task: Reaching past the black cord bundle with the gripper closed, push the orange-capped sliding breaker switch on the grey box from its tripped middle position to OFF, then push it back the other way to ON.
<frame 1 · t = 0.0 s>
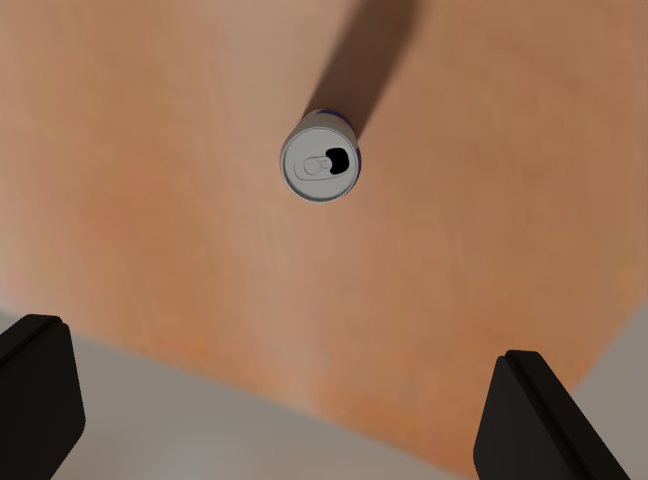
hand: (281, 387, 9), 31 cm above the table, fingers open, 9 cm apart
energy drink: (325, 138, 38), on the table
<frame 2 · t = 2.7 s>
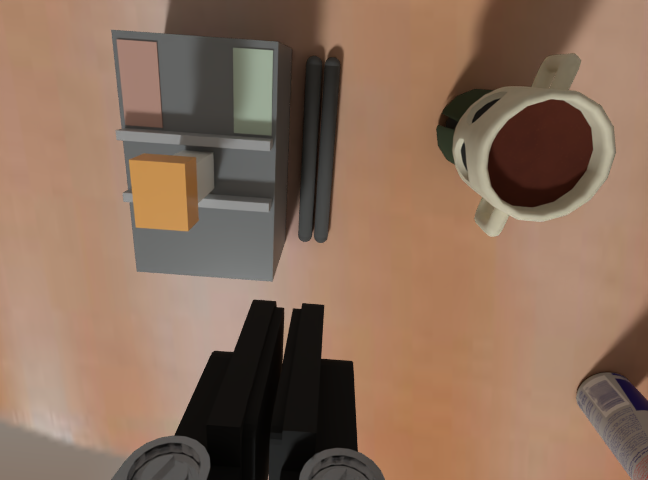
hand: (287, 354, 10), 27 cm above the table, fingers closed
energy drink: (600, 390, 44), on the table
grey box: (229, 148, 36), on the table
breaker switch: (181, 181, 25), point 12 cm above the table, slide at 0.0 cm
character mug: (473, 129, 35), on the table
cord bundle: (318, 155, 36), on the table
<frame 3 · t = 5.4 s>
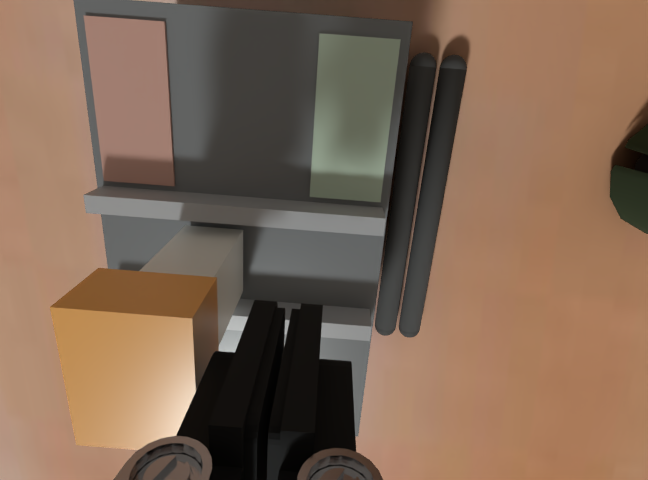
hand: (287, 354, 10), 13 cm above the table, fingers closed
grey box: (274, 197, 23), on the table
breaker switch: (183, 306, 12), point 12 cm above the table, slide at -0.9 cm, touching gripper
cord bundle: (413, 208, 23), on the table
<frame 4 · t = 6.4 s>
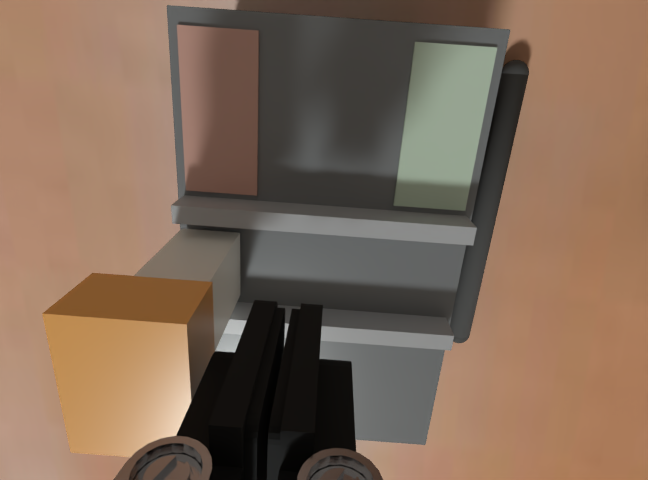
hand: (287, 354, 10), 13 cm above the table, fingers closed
grey box: (326, 203, 23), on the table
breaker switch: (179, 311, 12), point 12 cm above the table, slide at -3.8 cm, touching gripper
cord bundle: (466, 213, 23), on the table
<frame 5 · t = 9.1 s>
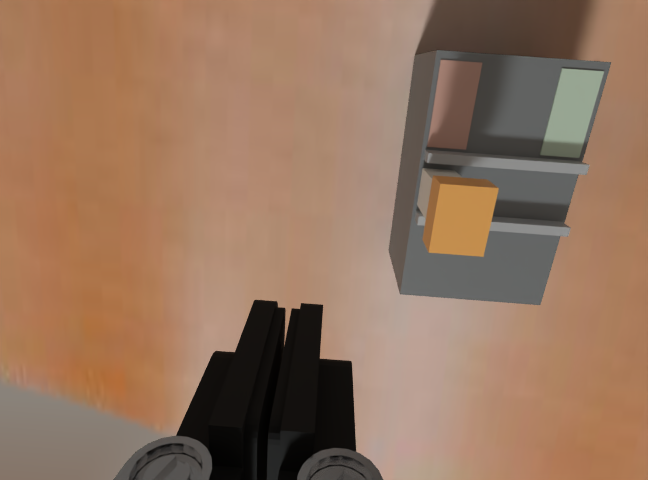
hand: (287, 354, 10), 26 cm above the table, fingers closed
grey box: (461, 165, 35), on the table
breaker switch: (447, 202, 24), point 12 cm above the table, slide at -3.8 cm
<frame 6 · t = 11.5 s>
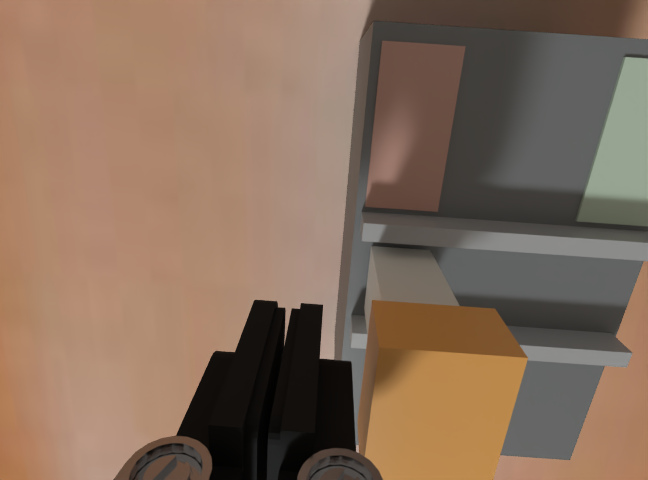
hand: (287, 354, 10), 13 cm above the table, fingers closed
grey box: (439, 213, 22), on the table
breaker switch: (411, 333, 12), point 12 cm above the table, slide at -3.4 cm, touching gripper
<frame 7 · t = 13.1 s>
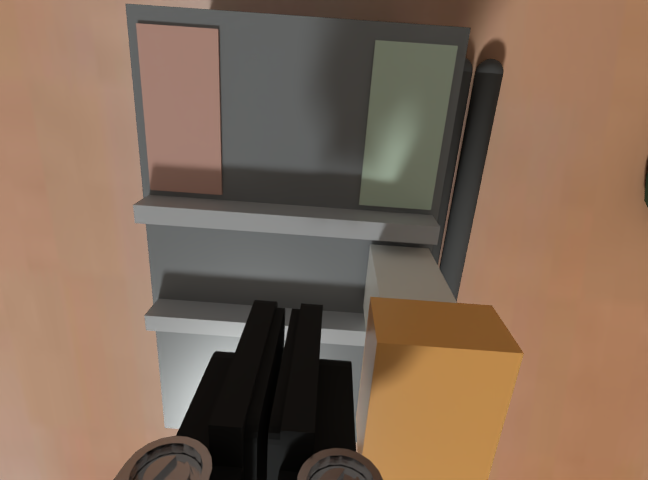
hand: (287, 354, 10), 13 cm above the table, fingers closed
grey box: (304, 203, 23), on the table
breaker switch: (409, 330, 12), point 12 cm above the table, slide at 3.8 cm, touching gripper
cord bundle: (444, 213, 23), on the table
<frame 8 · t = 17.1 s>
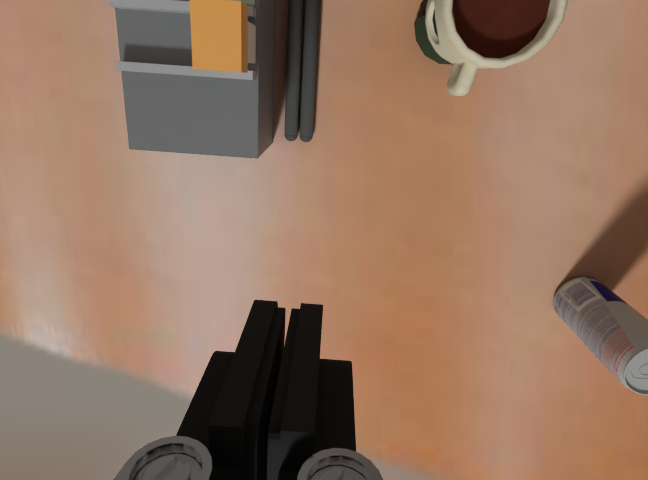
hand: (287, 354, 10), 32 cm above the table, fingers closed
energy drink: (576, 296, 46), on the table
grey box: (218, 46, 37), on the table
breaker switch: (230, 40, 27), point 12 cm above the table, slide at 3.8 cm
character mug: (449, 25, 36), on the table
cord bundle: (302, 53, 37), on the table
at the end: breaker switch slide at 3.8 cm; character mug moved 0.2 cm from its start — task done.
